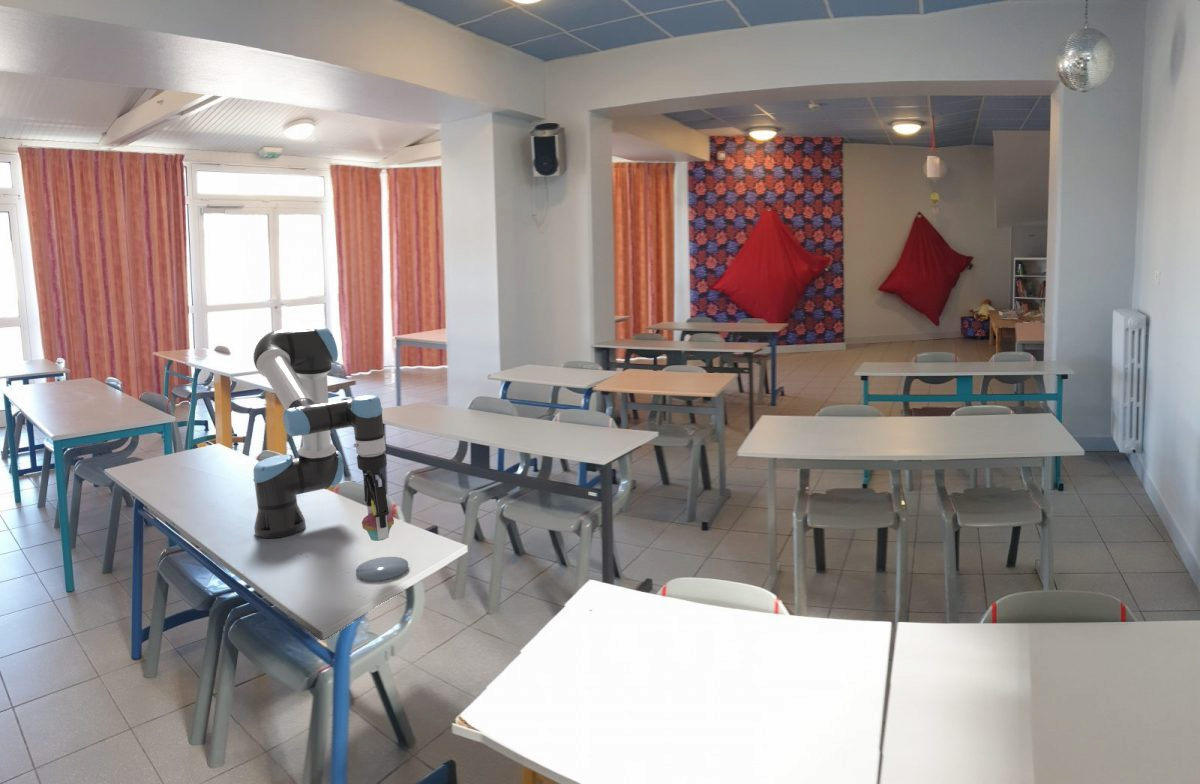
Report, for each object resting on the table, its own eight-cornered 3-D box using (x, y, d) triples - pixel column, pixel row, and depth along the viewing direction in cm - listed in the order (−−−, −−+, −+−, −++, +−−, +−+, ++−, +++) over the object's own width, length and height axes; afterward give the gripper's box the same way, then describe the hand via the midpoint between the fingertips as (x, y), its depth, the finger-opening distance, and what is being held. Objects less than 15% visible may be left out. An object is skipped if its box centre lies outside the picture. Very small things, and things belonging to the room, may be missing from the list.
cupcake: (386, 544, 214) (382, 501, 212) (357, 543, 216) (352, 500, 213) (400, 532, 222) (396, 491, 220) (372, 531, 224) (368, 490, 221)
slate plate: (346, 579, 216) (345, 575, 216) (373, 559, 229) (372, 555, 229) (392, 583, 212) (392, 579, 212) (417, 562, 226) (417, 558, 225)
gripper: (347, 447, 221) (355, 524, 226) (366, 464, 203) (375, 548, 208) (374, 442, 225) (382, 519, 229) (396, 459, 207) (403, 542, 211)
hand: (379, 533), depth 219 cm, fingers closed on cupcake, 8 cm apart
